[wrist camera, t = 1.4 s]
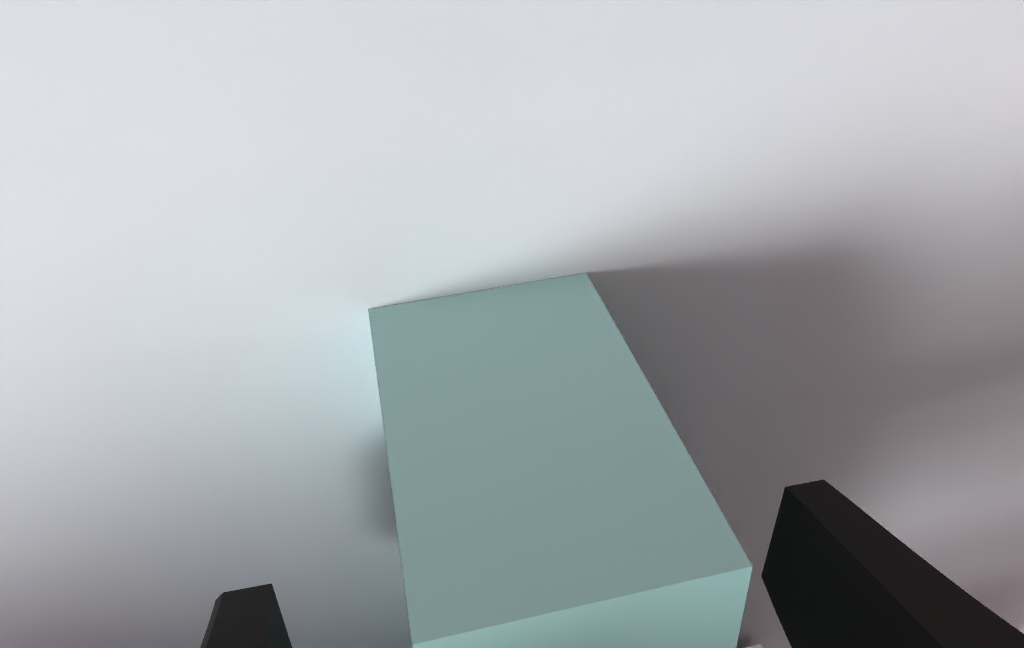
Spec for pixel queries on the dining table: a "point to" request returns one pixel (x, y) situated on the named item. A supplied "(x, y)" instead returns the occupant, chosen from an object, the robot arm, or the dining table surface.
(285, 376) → the dining table surface
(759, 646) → the white box
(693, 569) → the mint green rectangular block
